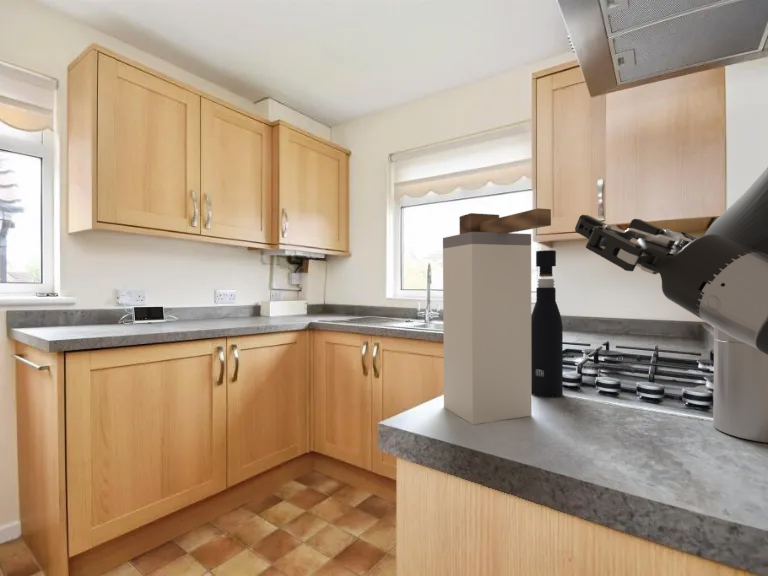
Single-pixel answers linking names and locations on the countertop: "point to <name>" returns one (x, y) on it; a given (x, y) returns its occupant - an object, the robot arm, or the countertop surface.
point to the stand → (487, 325)
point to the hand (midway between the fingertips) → (605, 224)
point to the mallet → (505, 221)
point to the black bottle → (546, 333)
